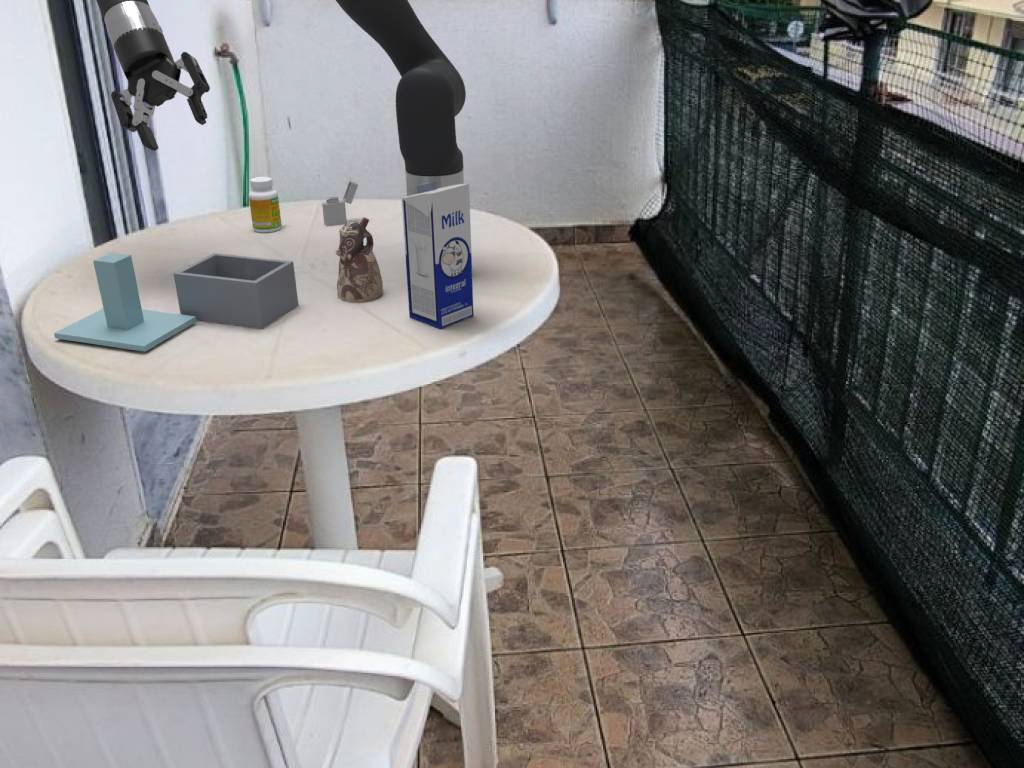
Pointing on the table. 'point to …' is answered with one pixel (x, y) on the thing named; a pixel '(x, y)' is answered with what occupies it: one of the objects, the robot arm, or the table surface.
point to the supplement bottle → (264, 205)
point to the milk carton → (438, 254)
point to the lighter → (338, 206)
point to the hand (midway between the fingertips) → (177, 135)
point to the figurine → (357, 264)
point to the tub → (237, 290)
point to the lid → (123, 312)
